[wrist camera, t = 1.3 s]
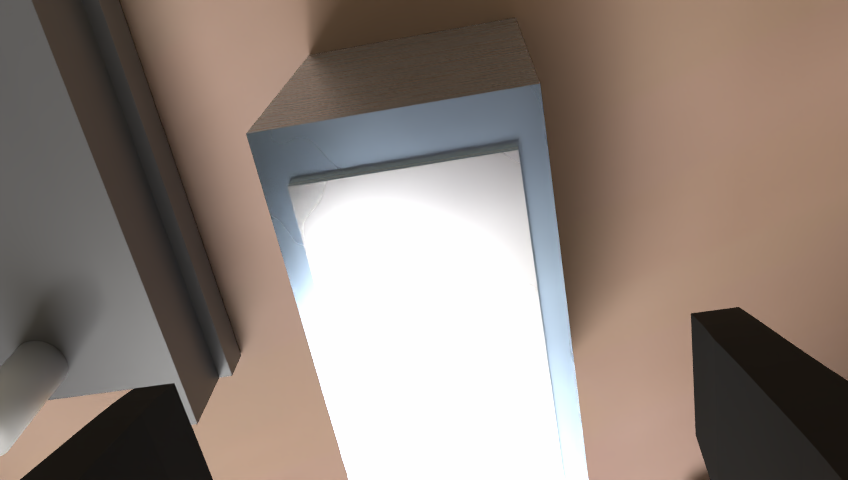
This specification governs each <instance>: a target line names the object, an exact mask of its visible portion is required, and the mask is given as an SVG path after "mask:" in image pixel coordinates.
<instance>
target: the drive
mask: <svg viewBox="0 0 848 480" xmlns="http://www.w3.org/2000/svg"><path fill="white" fill-rule="evenodd" d="M246 135H247V138H248V142H249V145H250V148H251V152H252V155H253V158H254V162H255V165H256V168H257V172H258V175H259V179H260V182H261V185H262V189H263V192H264V195H265V199H266V202H267V205H268V209H269V212H270V216H271V219H272V222H273V226H274V229H275V232H276V236H277V239H278V243H279V246H280V249H281V253H282V256H283V259H284V263H285V266H286V269H287V273H288V276H289V280H290V283H291V286H292V290H293V293H294V296H295V300H296V303H297V307H298V310H299V313H300V317H301V320H302V323H303V327H304V330H305V333H306V337H307V340H308V344H309V347H310V350H311V354H312V357H313V360H314V364H315V367H316V371H317V374H318V377H319V381H320V384H321V387H322V391H323V394H324V397H325V401H326V404H327V408H328V411H329V414H330V418H331V421H332V424H333V428H334V431H335V435H336V438H337V441H338V445H339V448H340V451H341V455H342V458H343V461H344V465H345V468H346V472H347V475H348V478H349V480H588V473H587V465H586V457H585V448H584V440H583V432H582V424H581V415H580V407H579V399H578V391H577V383H576V374H575V366H574V358H573V350H572V341H571V333H570V325H569V317H568V308H567V300H566V292H565V284H564V275H563V267H562V259H561V251H560V243H559V234H558V226H557V218H556V210H555V201H554V193H553V185H552V177H551V168H550V160H549V152H548V144H547V135H546V127H545V119H544V111H543V103H542V94H541V86H540V82H539V79H538V76H537V74H536V71H535V68H534V66H533V63H532V61H531V58H530V55H529V53H528V50H527V47H526V45H525V42H524V39H523V37H522V34H521V31H520V29H519V26H518V24H517V21H516V18H510V19H505V20H499V21H494V22H488V23H483V24H477V25H472V26H466V27H461V28H455V29H450V30H444V31H439V32H433V33H428V34H422V35H417V36H411V37H406V38H400V39H395V40H389V41H384V42H378V43H373V44H367V45H362V46H356V47H351V48H345V49H340V50H334V51H328V52H323V53H317V54H312V55H309V56H308V57H307V58H306V60H305V61H304V62H303V63H302V65H301V66H300V67H299V68H298V70H297V71H296V72H295V73H294V75H293V76H292V77H291V78H290V80H289V81H288V82H287V83H286V85H285V86H284V87H283V88H282V90H281V91H280V92H279V93H278V95H277V96H276V97H275V98H274V100H273V101H272V102H271V103H270V105H269V106H268V107H267V108H266V110H265V111H264V112H263V113H262V115H261V116H260V117H259V118H258V120H257V121H256V122H255V123H254V125H253V126H252V127H251V128H250V130H249V131H248V132H247V133H246Z"/></svg>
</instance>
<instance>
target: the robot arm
mask: <svg viewBox="0 0 848 480" xmlns="http://www.w3.org/2000/svg"><path fill="white" fill-rule="evenodd" d="M691 326H692V352H693V377H694V402H695V428H696V437H697V440H698V443H699V446H700V449H701V453H702V456H703V459H704V462H705V465H706V468H707V471H708V474H709V477H710V480H848V381H847V380H846V379H844V378H843V377H841V376H839V375H838V374H836V373H835V372H833V371H832V370H830V369H829V368H827V367H826V366H824V365H823V364H821V363H820V362H818V361H817V360H815V359H814V358H812V357H811V356H809V355H808V354H806V353H805V352H803V351H802V350H801V349H799V348H798V347H796V346H795V345H793V344H792V343H790V342H789V341H787V340H786V339H785V338H783V337H782V336H780V335H779V334H777V333H776V332H774V331H773V330H772V329H770V328H769V327H767V326H766V325H764V324H763V323H762V322H760V321H759V320H757V319H756V318H754V317H753V316H751V315H750V314H748V313H747V312H745V311H744V310H742V309H741V308H739V307H736V308H729V309H721V310H714V311H706V312H699V313H691ZM20 480H213V479H212V476H211V474H210V471H209V469H208V466H207V464H206V461H205V459H204V456H203V454H202V451H201V449H200V446H199V444H198V441H197V439H196V436H195V434H194V431H193V429H192V426H191V424H190V421H189V419H188V416H187V413H186V411H185V408H184V406H183V403H182V401H181V398H180V396H179V393H178V391H177V388H176V386H175V383H171V384H163V385H156V386H148V387H141V388H134V389H133V390H131V391H130V392H128V393H127V394H125V395H124V396H123V397H121V398H120V399H118V400H117V401H116V402H114V403H113V404H112V405H110V406H109V407H108V408H107V409H105V410H104V411H103V412H102V413H100V414H99V415H98V416H97V417H95V418H94V419H93V420H92V421H90V422H89V423H88V424H87V425H86V426H84V427H83V428H82V429H81V430H79V431H78V432H77V433H76V434H75V435H73V436H72V437H71V438H70V439H69V440H67V441H66V442H65V443H64V444H63V445H61V446H60V447H59V448H58V449H57V450H55V451H54V452H53V453H52V454H50V455H49V456H48V457H47V458H46V459H44V460H43V461H42V462H41V463H40V464H38V465H37V466H36V467H35V468H34V469H32V470H31V471H30V472H29V473H28V474H26V475H25V476H24V477H23V478H21V479H20Z"/></svg>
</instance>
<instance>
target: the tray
mask: <svg viewBox="0 0 848 480" xmlns="http://www.w3.org/2000/svg"><path fill="white" fill-rule="evenodd" d="M240 357H241V354H240V351H239V348H238V345H237V342H236V339H235V336H234V333H233V331H232V328H231V325H230V322H229V319H228V316H227V313H226V310H225V307H224V304H223V301H222V299H221V296H220V293H219V290H218V287H217V284H216V281H215V278H214V275H213V272H212V269H211V267H210V264H209V261H208V258H207V255H206V252H205V249H204V246H203V243H202V240H201V238H200V235H199V232H198V229H197V226H196V223H195V220H194V217H193V214H192V211H191V208H190V206H189V203H188V200H187V197H186V194H185V191H184V188H183V185H182V182H181V179H180V176H179V174H178V171H177V168H176V165H175V162H174V159H173V156H172V153H171V150H170V147H169V144H168V142H167V139H166V136H165V133H164V130H163V127H162V124H161V121H160V118H159V115H158V113H157V110H156V107H155V104H154V101H153V98H152V95H151V92H150V89H149V86H148V83H147V81H146V78H145V75H144V72H143V69H142V66H141V63H140V60H139V57H138V54H137V51H136V49H135V46H134V43H133V40H132V37H131V34H130V31H129V28H128V25H127V22H126V19H125V17H124V14H123V11H122V8H121V5H120V2H119V0H0V456H2V455H4V454H5V453H7V452H8V451H9V449H10V448H11V447H12V445H13V444H14V443H15V442H16V440H17V439H18V438H19V436H20V435H21V434H22V433H23V431H24V430H25V429H26V427H27V426H28V425H29V423H30V422H31V421H32V420H33V418H34V417H35V416H36V414H37V413H38V412H39V411H40V409H41V408H42V407H43V405H44V404H45V403H46V401H47V400H53V399H60V398H68V397H75V396H83V395H90V394H98V393H106V392H113V391H121V390H128V389H134V388H141V387H148V386H156V385H163V384H171V383H175V386H176V388H177V391H178V393H179V396H180V398H181V401H182V403H183V406H184V408H185V411H186V413H187V416H188V419H189V421H190V424H191V425H192V424H198V421H199V419H200V417H201V415H202V413H203V411H204V409H205V407H206V404H207V402H208V400H209V398H210V396H211V394H212V392H213V390H214V387H215V385H216V383H217V381H218V379H219V377H226V376H232V374H233V372H234V370H235V368H236V366H237V363H238V361H239V359H240Z"/></svg>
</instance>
